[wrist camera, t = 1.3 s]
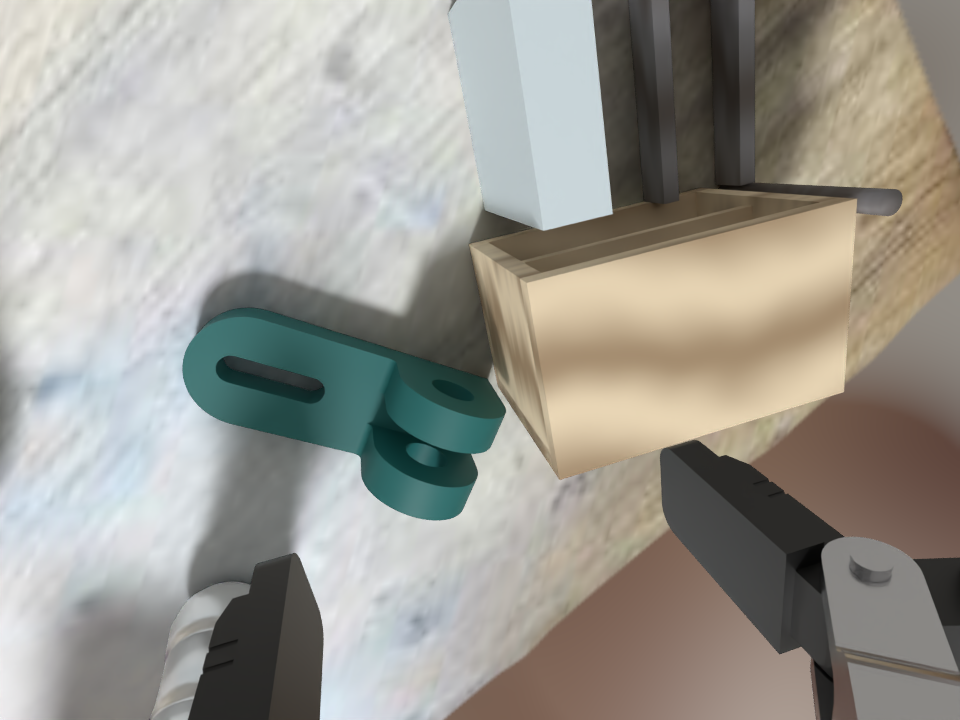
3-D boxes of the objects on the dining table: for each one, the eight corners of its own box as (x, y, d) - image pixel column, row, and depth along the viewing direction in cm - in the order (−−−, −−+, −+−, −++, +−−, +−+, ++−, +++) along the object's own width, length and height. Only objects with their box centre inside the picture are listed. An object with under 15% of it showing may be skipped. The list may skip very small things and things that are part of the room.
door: (447, 13, 29) (498, -66, 19) (516, 1, 30) (601, -83, 19) (484, 210, 33) (543, 230, 23) (544, 196, 34) (627, 210, 23)
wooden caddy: (422, 17, 29) (466, -74, 18) (731, -39, 31) (937, -149, 20) (498, 386, 37) (559, 480, 26) (736, 319, 40) (884, 379, 29)
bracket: (486, 378, 37) (519, 430, 30) (451, 461, 39) (474, 529, 31) (209, 291, 31) (166, 330, 24) (181, 393, 33) (133, 458, 26)
